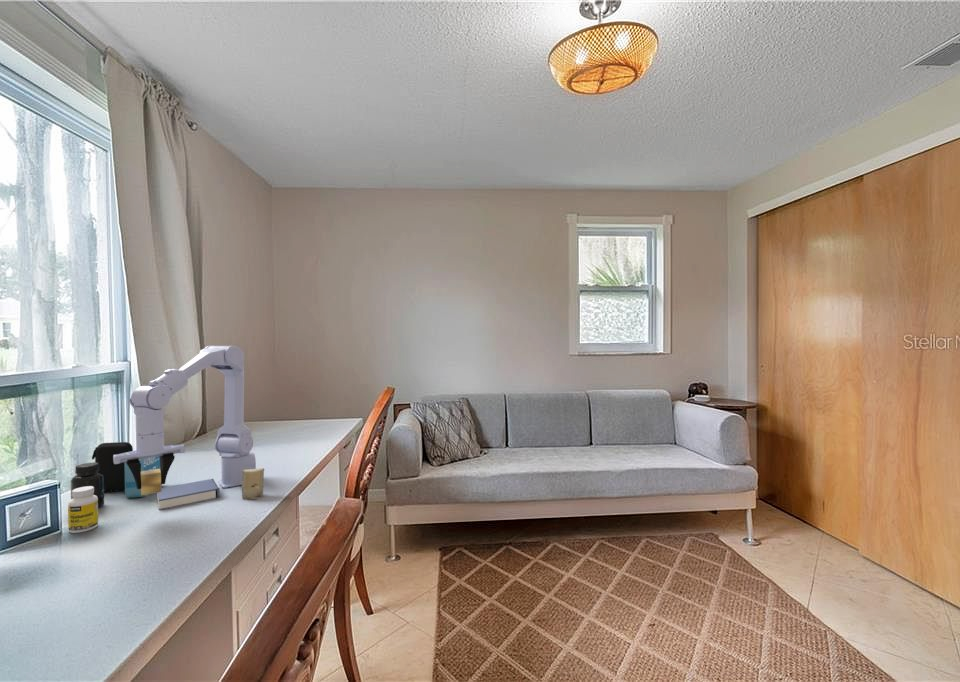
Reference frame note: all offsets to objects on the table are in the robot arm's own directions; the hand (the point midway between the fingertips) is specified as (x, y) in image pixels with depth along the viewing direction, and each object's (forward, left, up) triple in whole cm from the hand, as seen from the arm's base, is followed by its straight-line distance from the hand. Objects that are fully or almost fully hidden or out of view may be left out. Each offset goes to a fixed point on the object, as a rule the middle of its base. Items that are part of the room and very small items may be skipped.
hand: (151, 485), depth 113 cm
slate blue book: (-9, -11, -9) cm, 16 cm away
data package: (+1, -25, -9) cm, 27 cm away
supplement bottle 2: (+13, -3, -9) cm, 16 cm away
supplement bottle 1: (+13, -19, -9) cm, 25 cm away
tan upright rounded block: (-24, 0, -9) cm, 25 cm away
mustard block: (0, 0, -1) cm, 1 cm away
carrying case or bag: (+8, -32, -9) cm, 34 cm away
